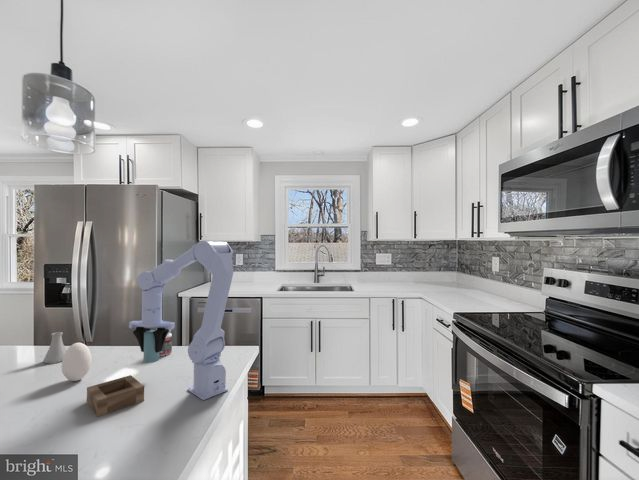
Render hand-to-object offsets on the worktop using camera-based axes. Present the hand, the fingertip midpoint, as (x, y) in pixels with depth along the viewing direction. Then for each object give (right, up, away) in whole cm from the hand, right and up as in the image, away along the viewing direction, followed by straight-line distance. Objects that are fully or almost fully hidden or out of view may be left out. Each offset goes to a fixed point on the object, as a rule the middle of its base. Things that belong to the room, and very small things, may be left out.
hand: (151, 351), depth 98 cm
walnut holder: (-2, -9, -14) cm, 17 cm away
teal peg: (0, -3, 0) cm, 3 cm away
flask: (-43, -9, +15) cm, 46 cm away
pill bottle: (-7, -9, +22) cm, 25 cm away
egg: (-23, -9, -2) cm, 24 cm away
